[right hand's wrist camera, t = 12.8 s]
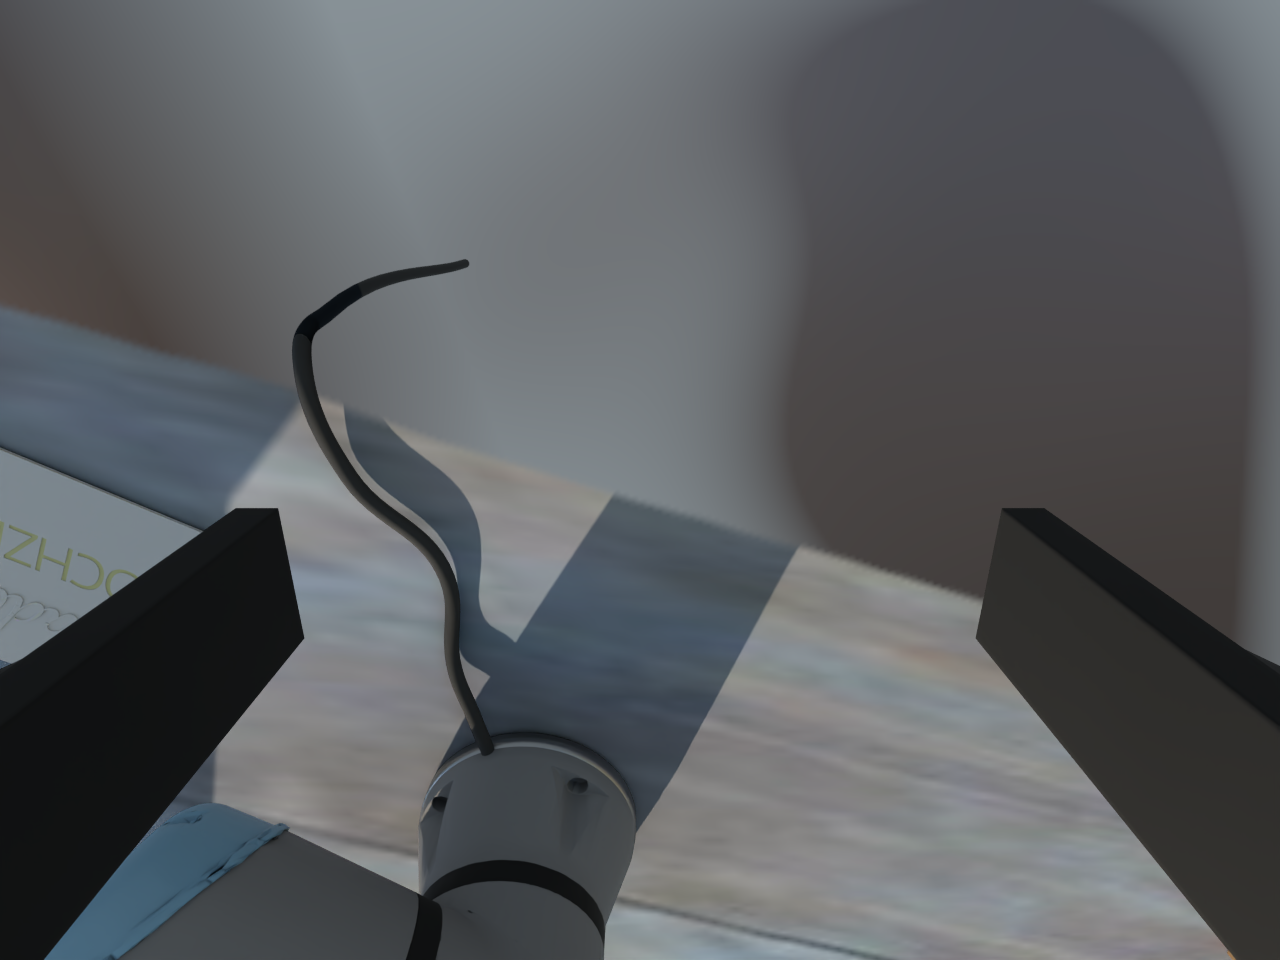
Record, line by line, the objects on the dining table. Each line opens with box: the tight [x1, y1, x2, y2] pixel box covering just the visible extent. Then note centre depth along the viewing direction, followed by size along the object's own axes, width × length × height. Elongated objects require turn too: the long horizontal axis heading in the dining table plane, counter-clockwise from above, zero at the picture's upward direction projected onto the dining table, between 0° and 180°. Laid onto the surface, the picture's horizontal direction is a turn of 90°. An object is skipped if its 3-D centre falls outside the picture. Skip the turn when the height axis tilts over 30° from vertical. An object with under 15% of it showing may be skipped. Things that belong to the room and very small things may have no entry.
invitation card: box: [0, 448, 203, 664], centre depth 43 cm, size 21×1×15 cm
